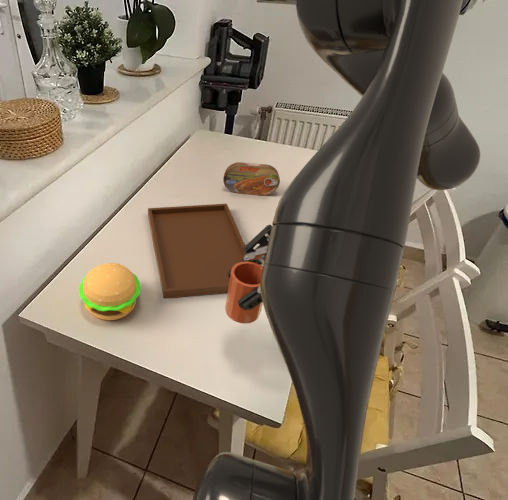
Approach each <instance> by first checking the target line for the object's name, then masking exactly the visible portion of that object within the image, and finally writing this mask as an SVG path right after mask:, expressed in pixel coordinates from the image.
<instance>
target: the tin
mask: <svg viewBox="0 0 508 500" xmlns="http://www.w3.org/2000/svg"><path fill="white" fill-rule="evenodd" d="M222 179H223V185H224V186H225V188H226V189H227V190H228V191H229V192H232V193H234V194H243V195H253V196H268V195H271V194H273V193H275V192H276V190H277V189H278V188H279V186H280V183H281V179H280V175H279V171H278V170H277V168H276V167H274V166H272V165H271V164H266V163H252V162H241V161H240V162H233V163H232V164H230V165H228V166H227V167H226V169H225V171H224V173H223V178H222Z"/></svg>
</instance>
